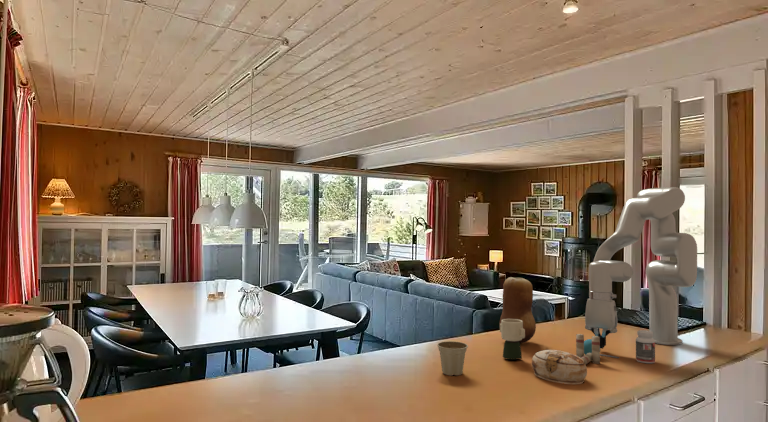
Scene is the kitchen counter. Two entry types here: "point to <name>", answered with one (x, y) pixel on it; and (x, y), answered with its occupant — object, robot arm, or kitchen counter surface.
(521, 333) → the character mug
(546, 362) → the trinket box
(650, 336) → the pill bottle
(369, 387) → the kitchen counter surface
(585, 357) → the pin front
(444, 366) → the flower pot
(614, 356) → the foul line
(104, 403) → the kitchen counter surface
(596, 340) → the pin
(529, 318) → the butternut squash
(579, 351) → the pin
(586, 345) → the ball
